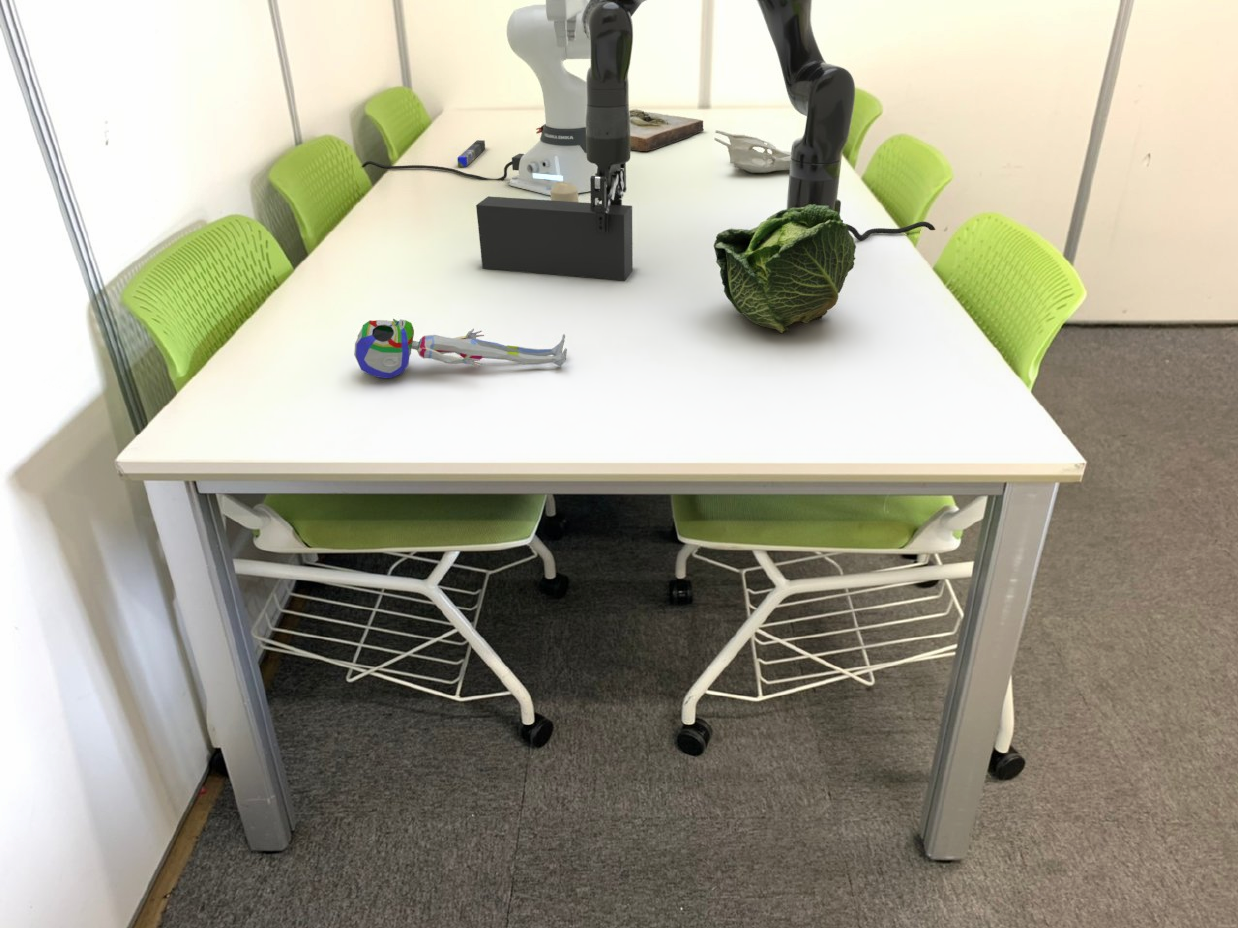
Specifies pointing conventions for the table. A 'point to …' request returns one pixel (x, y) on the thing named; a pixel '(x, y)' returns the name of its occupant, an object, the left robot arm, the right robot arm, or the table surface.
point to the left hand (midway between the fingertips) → (566, 44)
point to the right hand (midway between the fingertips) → (609, 226)
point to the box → (554, 238)
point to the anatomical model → (754, 154)
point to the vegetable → (786, 265)
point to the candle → (564, 192)
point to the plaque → (659, 129)
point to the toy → (435, 349)
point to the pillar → (471, 153)
